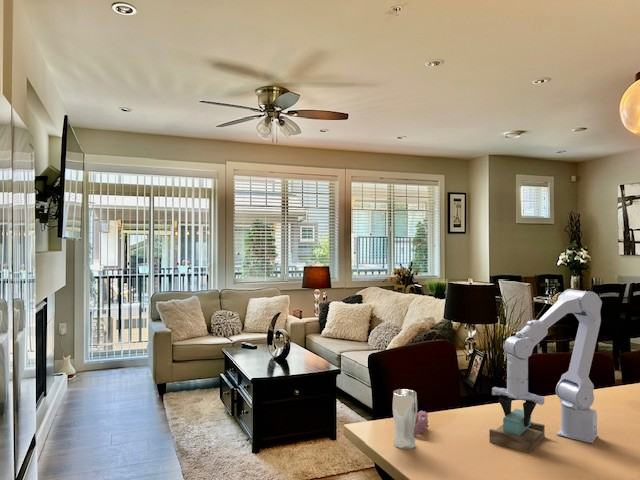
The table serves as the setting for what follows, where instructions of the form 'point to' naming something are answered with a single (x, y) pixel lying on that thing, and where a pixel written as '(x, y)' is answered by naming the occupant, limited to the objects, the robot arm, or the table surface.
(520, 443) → the display stand
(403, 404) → the beer glass
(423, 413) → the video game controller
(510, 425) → the teal rectangular block
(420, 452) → the table surface
